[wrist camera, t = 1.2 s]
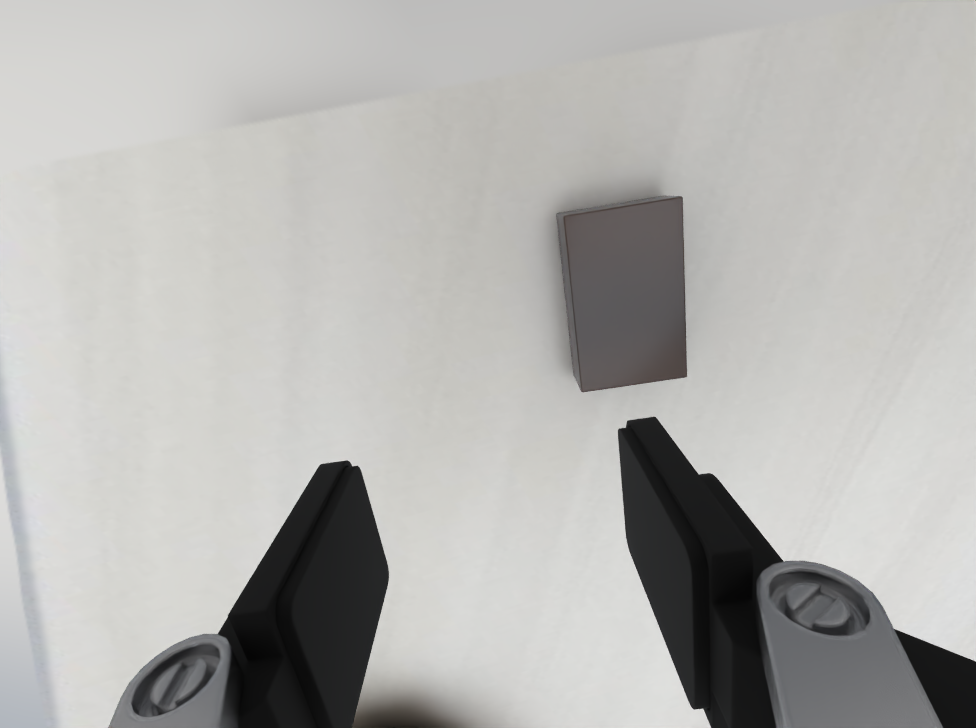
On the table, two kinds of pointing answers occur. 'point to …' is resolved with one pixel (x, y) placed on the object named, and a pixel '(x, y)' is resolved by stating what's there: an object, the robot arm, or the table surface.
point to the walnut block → (625, 292)
